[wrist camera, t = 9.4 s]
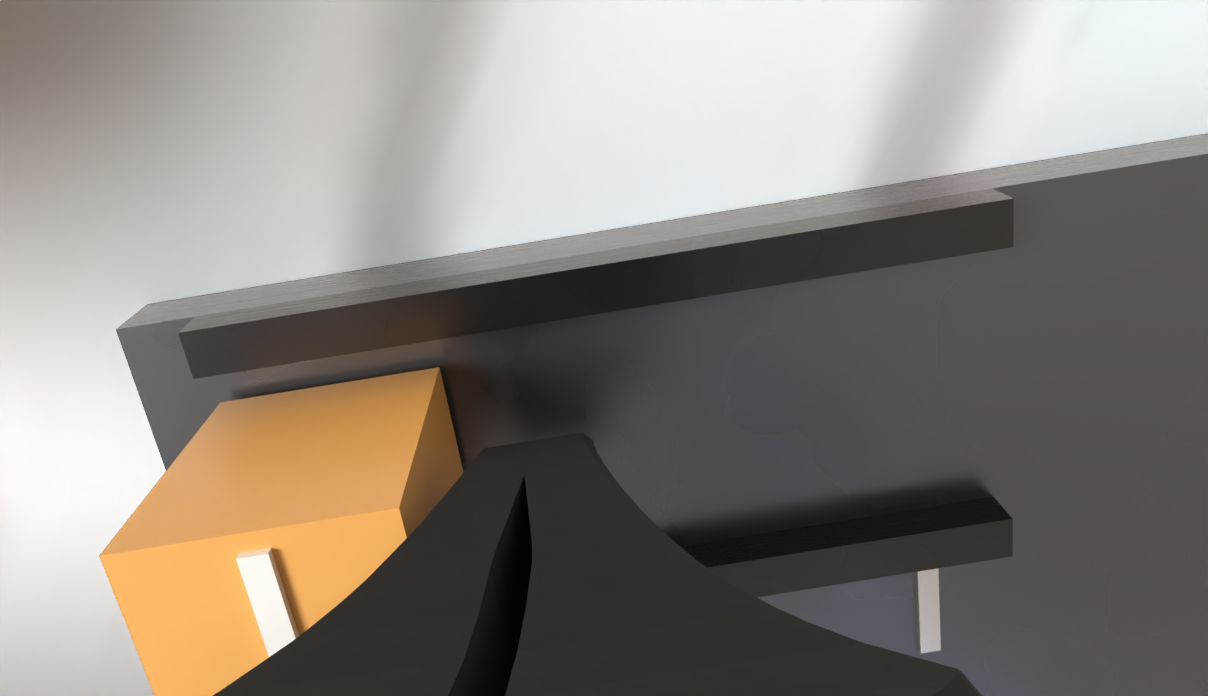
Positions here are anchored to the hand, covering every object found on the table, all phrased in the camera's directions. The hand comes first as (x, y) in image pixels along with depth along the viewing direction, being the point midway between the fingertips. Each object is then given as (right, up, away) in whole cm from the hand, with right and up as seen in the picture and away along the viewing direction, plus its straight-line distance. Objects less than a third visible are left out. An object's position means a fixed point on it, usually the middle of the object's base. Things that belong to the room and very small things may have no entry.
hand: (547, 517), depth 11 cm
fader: (-3, 0, +2) cm, 3 cm away
